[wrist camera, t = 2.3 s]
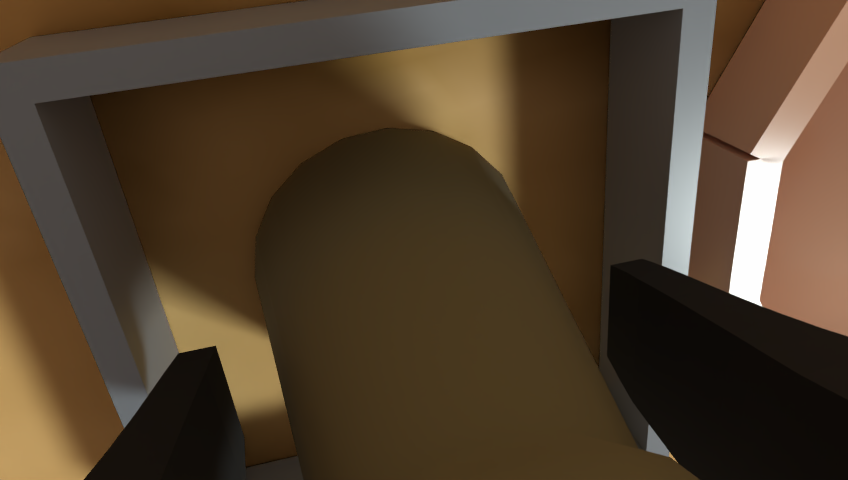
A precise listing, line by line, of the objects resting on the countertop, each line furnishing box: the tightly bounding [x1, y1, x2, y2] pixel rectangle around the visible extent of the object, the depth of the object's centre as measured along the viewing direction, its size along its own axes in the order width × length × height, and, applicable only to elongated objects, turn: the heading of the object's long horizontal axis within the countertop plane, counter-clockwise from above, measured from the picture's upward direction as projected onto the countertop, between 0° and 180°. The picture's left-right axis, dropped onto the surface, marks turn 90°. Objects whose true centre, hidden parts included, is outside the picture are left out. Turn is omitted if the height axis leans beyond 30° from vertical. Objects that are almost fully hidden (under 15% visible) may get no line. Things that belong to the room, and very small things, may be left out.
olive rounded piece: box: [255, 128, 700, 480], centre depth 10 cm, size 6×6×11 cm
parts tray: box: [0, 0, 717, 480], centre depth 13 cm, size 11×11×2 cm
